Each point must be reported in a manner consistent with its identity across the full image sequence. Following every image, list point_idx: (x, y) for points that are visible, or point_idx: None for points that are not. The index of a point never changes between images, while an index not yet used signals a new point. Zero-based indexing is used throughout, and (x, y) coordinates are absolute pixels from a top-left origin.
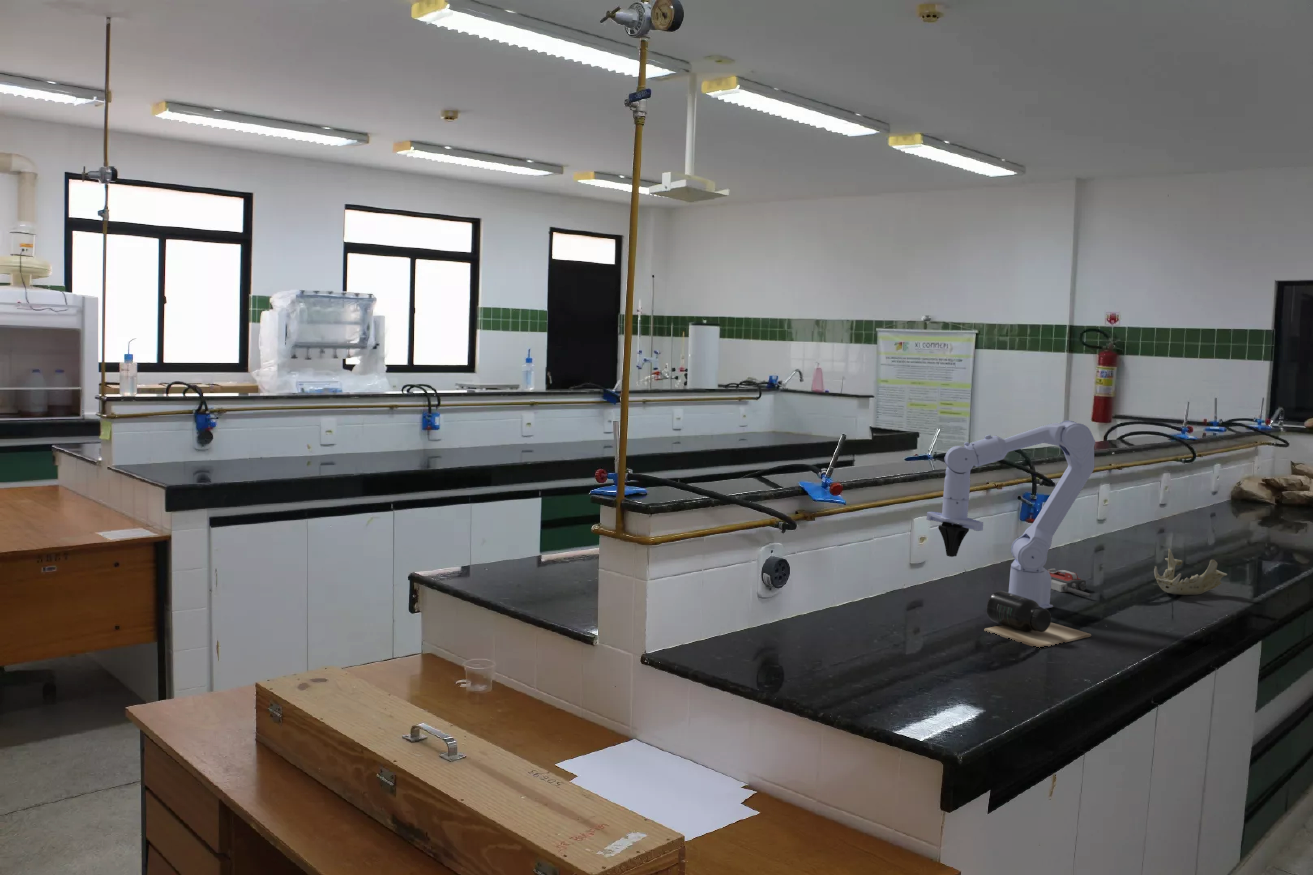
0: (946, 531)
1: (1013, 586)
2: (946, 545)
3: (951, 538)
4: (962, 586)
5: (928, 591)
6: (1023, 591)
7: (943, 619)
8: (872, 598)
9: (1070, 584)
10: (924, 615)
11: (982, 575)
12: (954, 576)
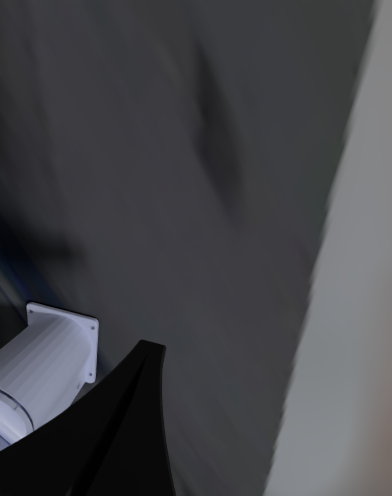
0: (95, 478)
1: (38, 347)
2: (147, 380)
3: (80, 414)
4: (222, 392)
5: (256, 305)
6: (18, 338)
7: (79, 55)
8: (355, 88)
9: None
10: (134, 43)
11: (235, 479)
12: (271, 448)
